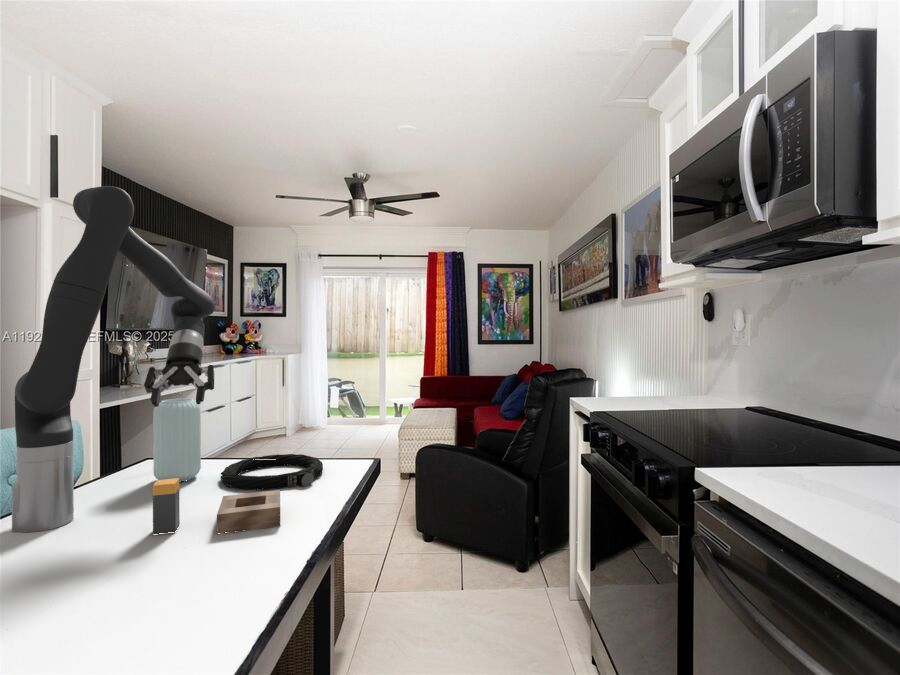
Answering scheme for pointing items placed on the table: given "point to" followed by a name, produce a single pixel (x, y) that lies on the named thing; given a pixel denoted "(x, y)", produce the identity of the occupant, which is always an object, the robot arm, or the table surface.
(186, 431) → the vase
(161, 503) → the connector plug
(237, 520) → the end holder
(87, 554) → the table surface
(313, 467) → the cable lock
